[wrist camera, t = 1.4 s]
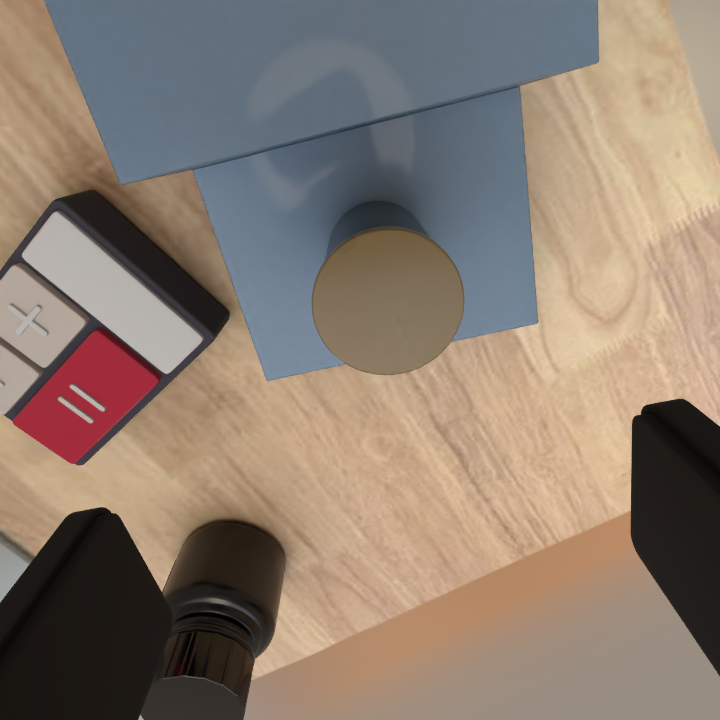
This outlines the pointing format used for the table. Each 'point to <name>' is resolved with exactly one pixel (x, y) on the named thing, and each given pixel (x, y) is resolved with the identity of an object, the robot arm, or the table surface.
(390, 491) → the table surface
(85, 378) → the calculator
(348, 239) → the dark jar with lid
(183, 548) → the ink bottle
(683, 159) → the table surface
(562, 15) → the blue-grey angular block
